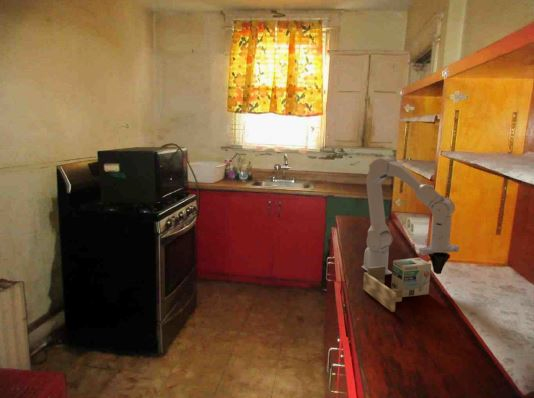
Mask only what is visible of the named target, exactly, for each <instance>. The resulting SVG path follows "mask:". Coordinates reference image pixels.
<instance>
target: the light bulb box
mask: <svg viewBox="0 0 534 398" xmlns="http://www.w3.org/2000/svg"><path fill="white" fill-rule="evenodd" d="M431 270H432V263H430V262H428V261H426V260H423V259H422V258H420V257H414V258H404V259H402V258H401V259H394V260H393V262H392V271H391V272H392V274H391V283H390V284H391V285H390V287H391V288H390V289H399V288H401V289H402V290H403V291H402V298H407V297H416V296H423V295H424V296H425V295H429V289H430V279H431V273H432V272H431Z"/></svg>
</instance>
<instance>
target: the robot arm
mask: <svg viewBox="0 0 534 398" xmlns="http://www.w3.org/2000/svg"><path fill="white" fill-rule="evenodd" d="M368 166H369V169H368V172H367V176H366V178H365V179H366V180H365V182H366V193H367V201H368V212H369V220H370V227H369V228H368V230H367V237H366V246H367V247H366V248H365V250H364V252H363V253H364V255H363V256H364V257H363V265H362V266H361V268H362V269H363V270H365V271H366V272H367V271H368V267H376V266H385V267H386V268H385V276H386V275H392V271H391V270H389V268H388V267H389V251H390V246H391V245H392V242H393V241H394V240H393V236H392V234H391V231H390V227H389V226H388V225H387V224H386V215H385V206H384V204H385V203H384V195H383V186H382V183H383V182H384V181H385V180H386V179H387V177H395V178H398V179H399V180H400V181H401V182H403V184H406V185H407V186H408V187H410V188H411V189H412V190H413V191H414V193H415V194H414V196H415V197H416V198H417V199H418V200H419V201H421V203H422V204H424V205H425V206H426V207H427V208H428V209H430V214H432V217H433V218H432V225H431V236H430V245H428V246H425V247H419V251H418V252H419V253H418V254H419V255H422V256H426V255H428V257H429V259H430V261H431V267H432V270H433V273H434V274H437V275H441V274H442V273H443V269H444V266H445V265H446V263H447V261H448V260H450V258H451V255H450V253H453V252H455V253H458V252H459V251H460V246H459V245H456V244H450V241H451V229H452V218H453V217H452V216H453V214H454V212H455V211H456V206H455V204H454V203H455V202H453V200H452V199H450V198H446V196H444V194H443V195H441V193H439V192H438V191H437V190H435V186H434V185H433V184H430V185H429V183H422V182H421V181H420V180H419V179H418V178H416V177H415V175H414V174H412V172H410V170H409V169H407V168H406V167H405V166H404V165H403V164H402V162H401V161H400V160H397V158H395V157H393V156H386V157H378V158H375V159H374V160H372V162H371V163H369V165H368Z"/></svg>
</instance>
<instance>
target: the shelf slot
mask: <svg viewBox="0 0 534 398" xmlns="http://www.w3.org/2000/svg"><path fill="white" fill-rule="evenodd" d="M385 268H386V267H385V266H376V267H368V271H366V272H363V282H362V283H363V285H362V289H363V291H365V292H366V293H368V294H369V295H370V296H371V297H372V298H373V299H375V300H376V301H377V302H379V303H380V304H381V305H382V306H383V307H385V308H386V309H387V310H389V311H390V312H391V313H394V312H395V311H396V303H398V302H402V301H403V297H402V291H403V290H402V289H401V288H399V289H391V288H390V287H388V286H387V285H385V283H386V282H385V281H386V278H385V277H386V275H385Z"/></svg>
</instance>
